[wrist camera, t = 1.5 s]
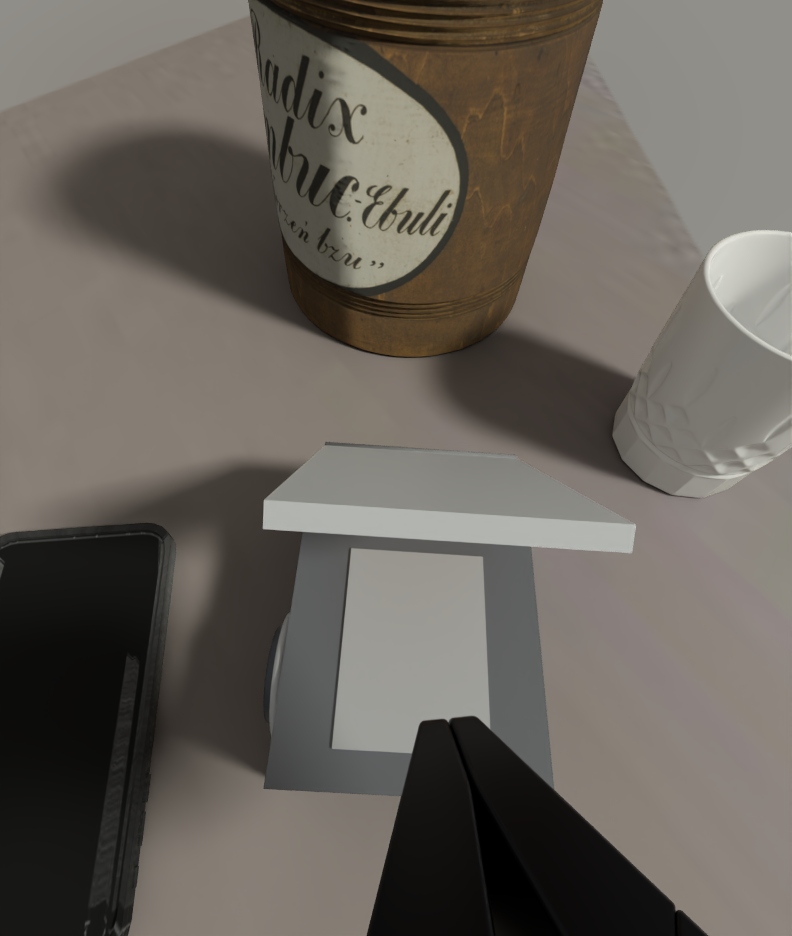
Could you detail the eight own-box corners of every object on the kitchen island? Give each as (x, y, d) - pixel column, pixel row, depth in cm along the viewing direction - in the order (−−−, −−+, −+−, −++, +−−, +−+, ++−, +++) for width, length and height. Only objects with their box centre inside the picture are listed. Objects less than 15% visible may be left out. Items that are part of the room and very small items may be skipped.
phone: (-170, 1019, 15) (-13, 533, 22) (-137, 1004, 16) (2, 543, 23) (119, 976, 15) (176, 520, 23) (134, 963, 16) (183, 530, 24)
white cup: (707, 540, 25) (888, 415, 16) (571, 442, 27) (666, 289, 19) (772, 445, 28) (953, 299, 19) (645, 365, 31) (755, 205, 22)
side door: (631, 557, 11) (636, 519, 10) (262, 533, 10) (263, 495, 10) (512, 473, 21) (514, 453, 21) (325, 460, 21) (326, 441, 20)
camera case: (516, 799, 19) (556, 804, 15) (267, 785, 19) (241, 787, 15) (499, 525, 25) (525, 477, 21) (308, 512, 24) (297, 461, 20)
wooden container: (243, 259, 34) (90, -405, 15) (414, 184, 39) (461, -371, 20) (388, 401, 28) (441, -358, 9) (563, 291, 34) (818, -328, 15)
